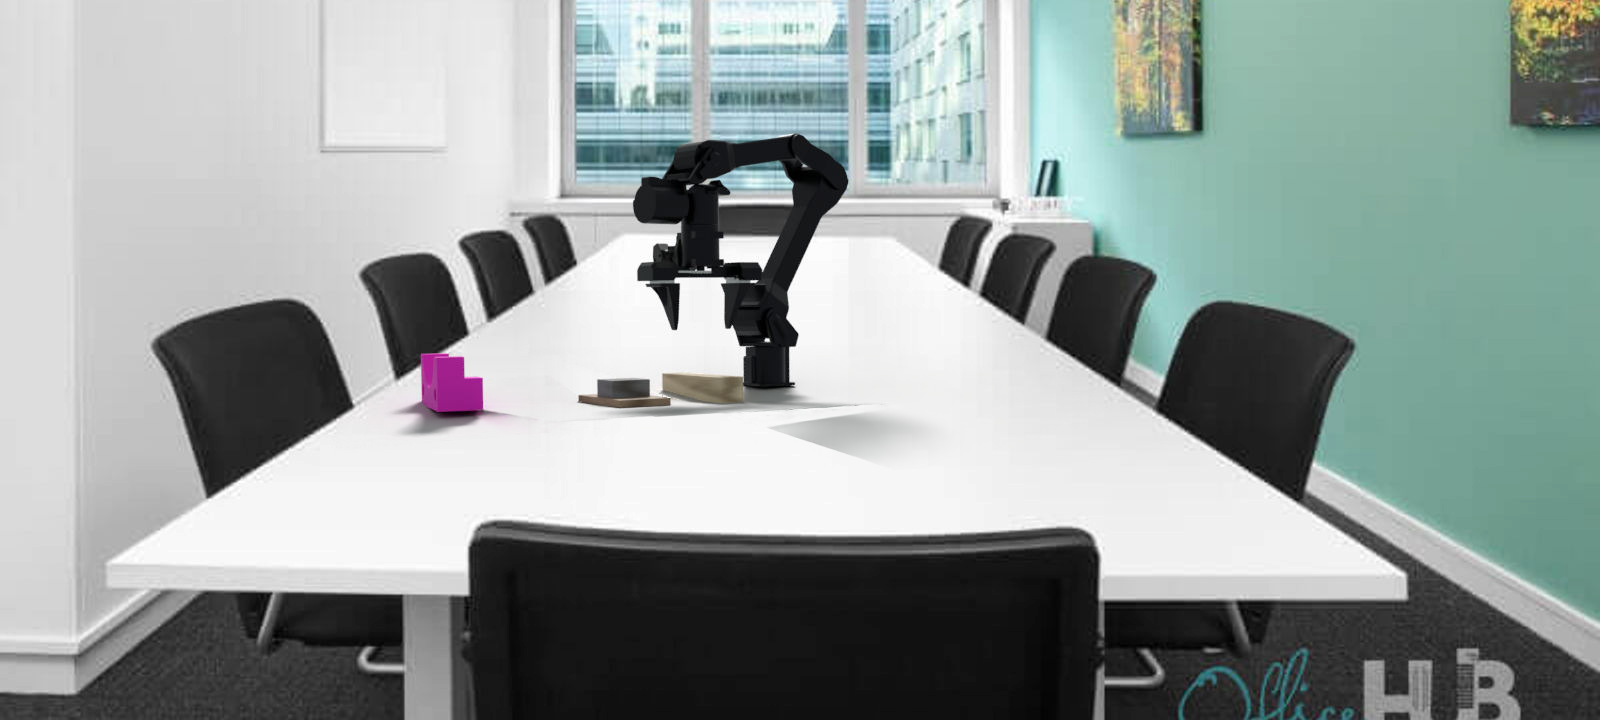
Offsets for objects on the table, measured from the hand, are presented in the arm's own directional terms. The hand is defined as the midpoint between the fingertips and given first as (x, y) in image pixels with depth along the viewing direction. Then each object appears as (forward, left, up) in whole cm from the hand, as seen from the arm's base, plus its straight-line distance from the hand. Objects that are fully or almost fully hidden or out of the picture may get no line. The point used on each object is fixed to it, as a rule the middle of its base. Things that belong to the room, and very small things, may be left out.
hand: (701, 329), depth 203 cm
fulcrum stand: (+13, 0, -11) cm, 17 cm away
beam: (0, 0, -11) cm, 11 cm away
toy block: (+35, -12, -11) cm, 38 cm away
